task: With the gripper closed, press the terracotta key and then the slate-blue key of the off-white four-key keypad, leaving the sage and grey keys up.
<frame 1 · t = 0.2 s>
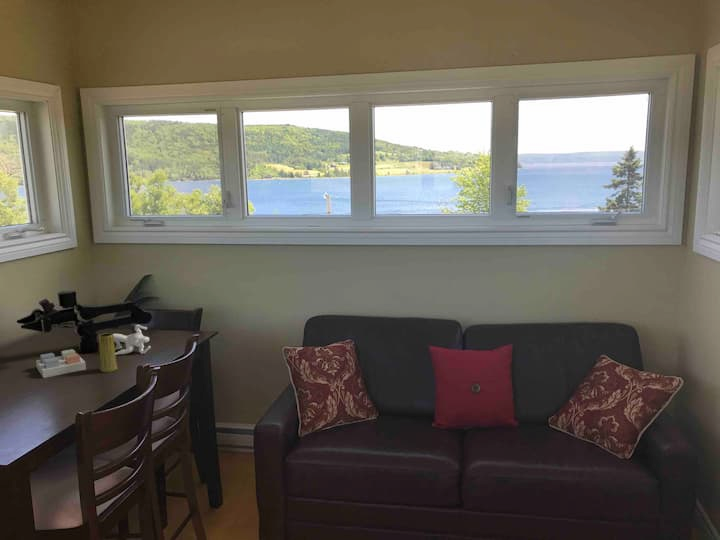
hand: (18, 324, 229), 17 cm above the table, tool horizontal, fingers open, 9 cm apart
vase: (109, 370, 222), on the table
key sage: (68, 354, 229), point 4 cm above the table, slide at 0.0 cm
key terracotta: (72, 359, 223), point 4 cm above the table, slide at 0.0 cm
keypad: (61, 368, 224), on the table
key grey: (51, 363, 219), point 4 cm above the table, slide at 0.0 cm
key slate: (47, 358, 224), point 4 cm above the table, slide at 0.0 cm
person figurine: (131, 353, 245), on the table
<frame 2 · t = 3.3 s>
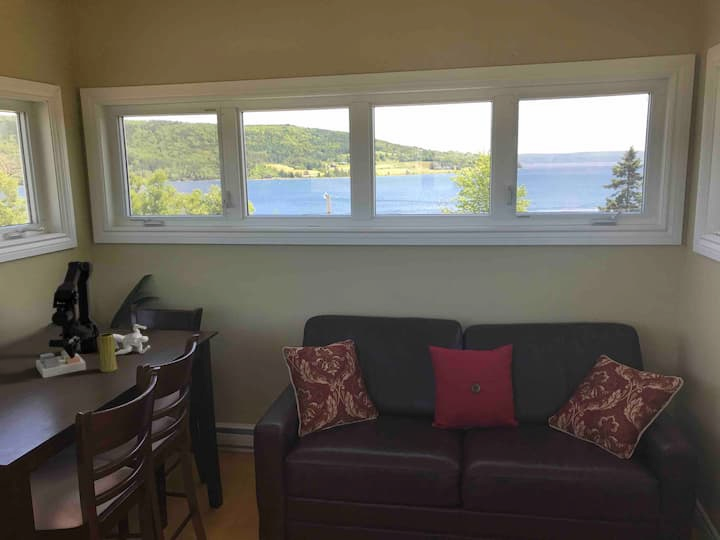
hand: (72, 358, 223), 5 cm above the table, tool pointing down, fingers closed, pressing on key terracotta
key terracotta: (72, 361, 223), point 3 cm above the table, slide at 1.0 cm, touching gripper
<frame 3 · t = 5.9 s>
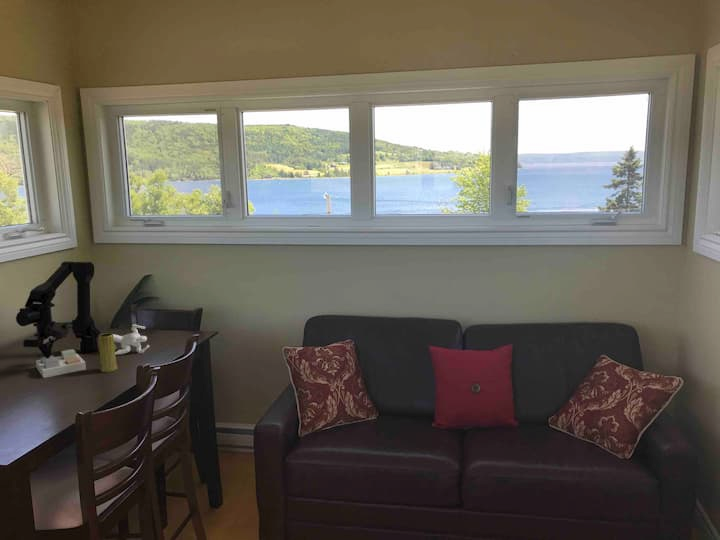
hand: (47, 357, 224), 4 cm above the table, tool pointing down, fingers closed, pressing on key slate
key terracotta: (72, 363, 223), point 2 cm above the table, slide at 1.6 cm
key slate: (48, 361, 225), point 3 cm above the table, slide at 1.2 cm, touching gripper
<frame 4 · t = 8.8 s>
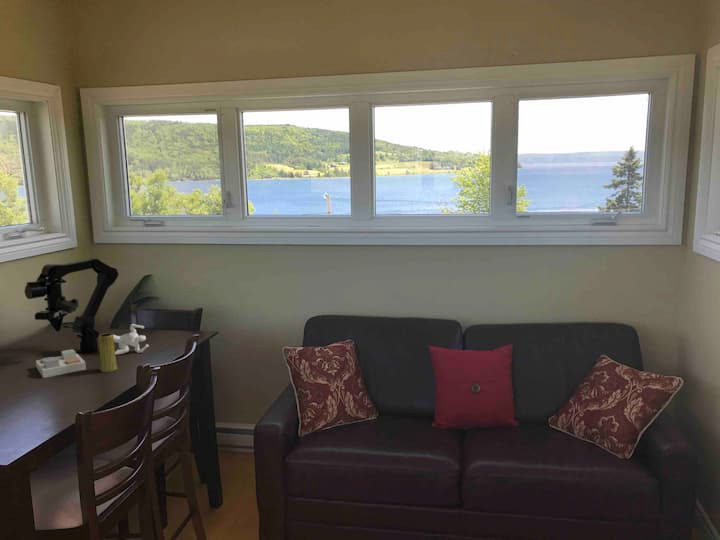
hand: (58, 331, 235), 12 cm above the table, tool pointing down, fingers closed
key slate: (48, 362, 225), point 2 cm above the table, slide at 1.6 cm
at the end: key terracotta slide at 1.6 cm; key slate slide at 1.6 cm; key sage slide at 0.0 cm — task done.
